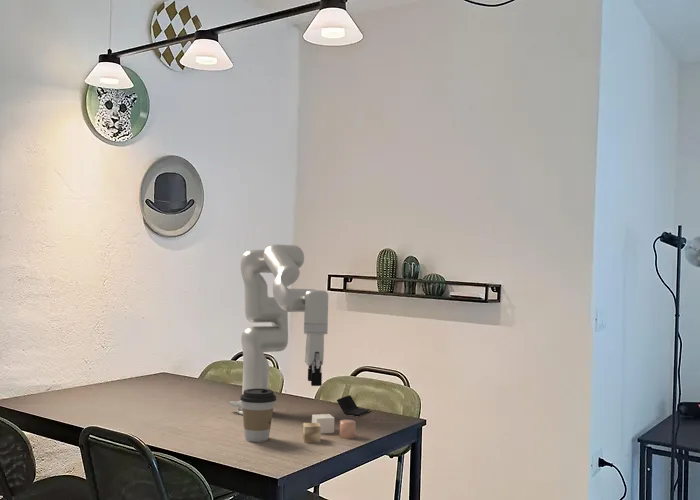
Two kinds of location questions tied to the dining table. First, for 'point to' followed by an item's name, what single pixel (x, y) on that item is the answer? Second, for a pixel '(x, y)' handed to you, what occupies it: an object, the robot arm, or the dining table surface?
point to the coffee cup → (257, 413)
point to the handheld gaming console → (350, 406)
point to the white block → (324, 422)
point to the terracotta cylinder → (347, 429)
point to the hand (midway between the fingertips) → (314, 383)
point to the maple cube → (311, 432)
